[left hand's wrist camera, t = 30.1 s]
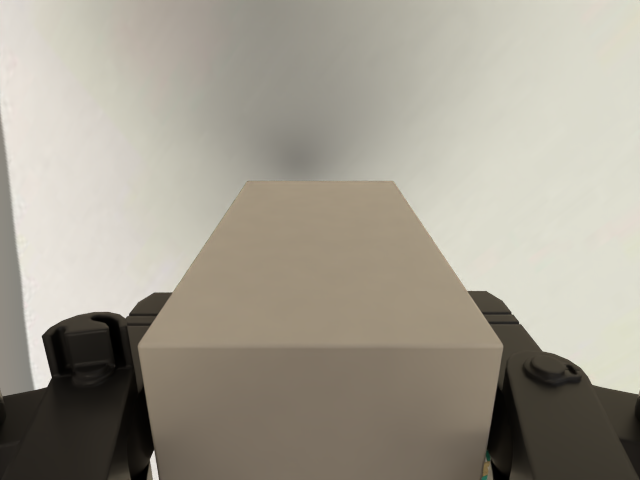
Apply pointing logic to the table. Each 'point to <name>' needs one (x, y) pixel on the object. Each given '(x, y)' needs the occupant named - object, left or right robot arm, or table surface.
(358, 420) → the brick
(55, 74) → the table surface
